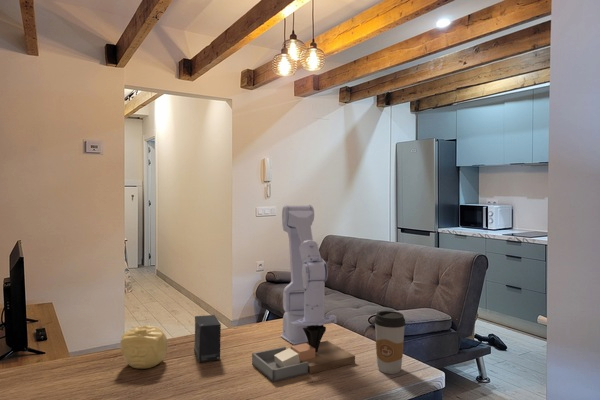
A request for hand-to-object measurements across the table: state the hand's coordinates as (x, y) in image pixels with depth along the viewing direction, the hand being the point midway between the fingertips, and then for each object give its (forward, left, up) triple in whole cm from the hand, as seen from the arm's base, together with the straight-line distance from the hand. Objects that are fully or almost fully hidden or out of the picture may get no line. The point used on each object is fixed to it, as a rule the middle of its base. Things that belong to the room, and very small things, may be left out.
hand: (313, 351), depth 118 cm
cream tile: (0, -8, -2) cm, 9 cm away
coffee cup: (+15, +15, -3) cm, 21 cm away
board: (0, +2, -3) cm, 3 cm away
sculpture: (-21, -42, -3) cm, 47 cm away
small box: (-19, -25, -3) cm, 32 cm away
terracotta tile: (0, -4, -1) cm, 4 cm away
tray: (0, -11, -3) cm, 11 cm away
